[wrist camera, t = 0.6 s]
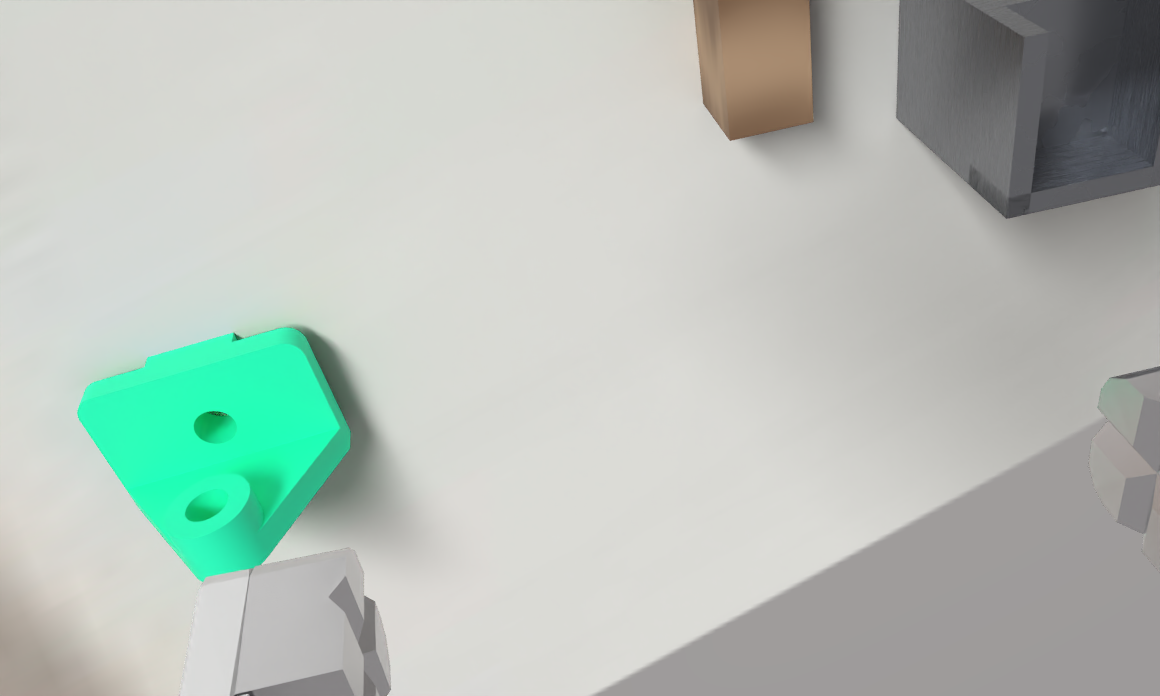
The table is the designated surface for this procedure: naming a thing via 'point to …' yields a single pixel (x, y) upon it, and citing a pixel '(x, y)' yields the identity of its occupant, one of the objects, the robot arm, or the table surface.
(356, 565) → the robot arm
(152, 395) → the camera mount
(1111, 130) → the cup bracket
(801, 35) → the rail
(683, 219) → the table surface
